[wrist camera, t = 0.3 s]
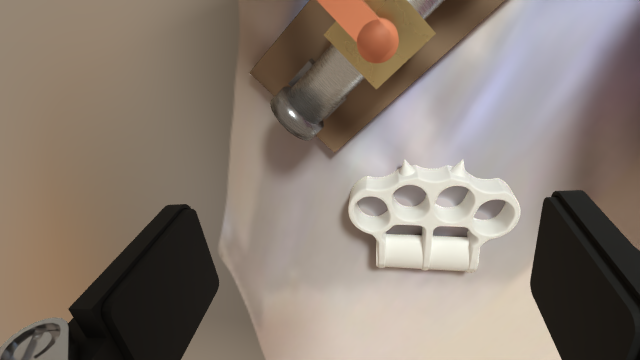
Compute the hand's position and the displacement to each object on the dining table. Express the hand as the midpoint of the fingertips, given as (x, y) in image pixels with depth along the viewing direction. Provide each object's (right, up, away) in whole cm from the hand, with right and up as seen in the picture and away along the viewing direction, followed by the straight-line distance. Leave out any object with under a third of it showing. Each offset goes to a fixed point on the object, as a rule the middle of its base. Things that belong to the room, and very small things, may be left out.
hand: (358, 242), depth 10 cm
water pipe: (+4, +16, +24) cm, 29 cm away
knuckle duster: (+12, -2, +34) cm, 36 cm away
